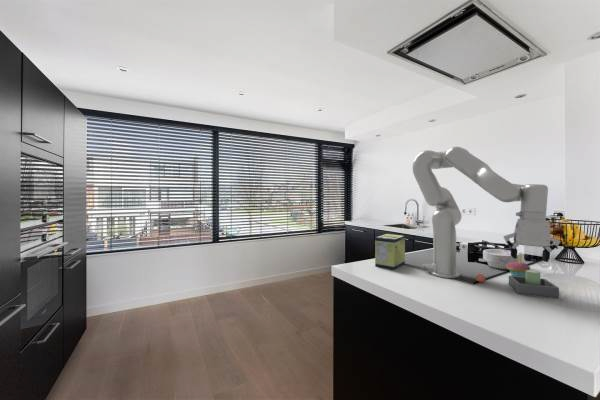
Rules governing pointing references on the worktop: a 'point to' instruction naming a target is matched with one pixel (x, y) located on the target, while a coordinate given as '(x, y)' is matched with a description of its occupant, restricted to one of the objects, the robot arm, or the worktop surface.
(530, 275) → the cucumber chunk
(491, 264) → the paper bowls
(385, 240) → the protein box
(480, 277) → the tomato ball
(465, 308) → the worktop surface
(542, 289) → the bin
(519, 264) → the cupcake
